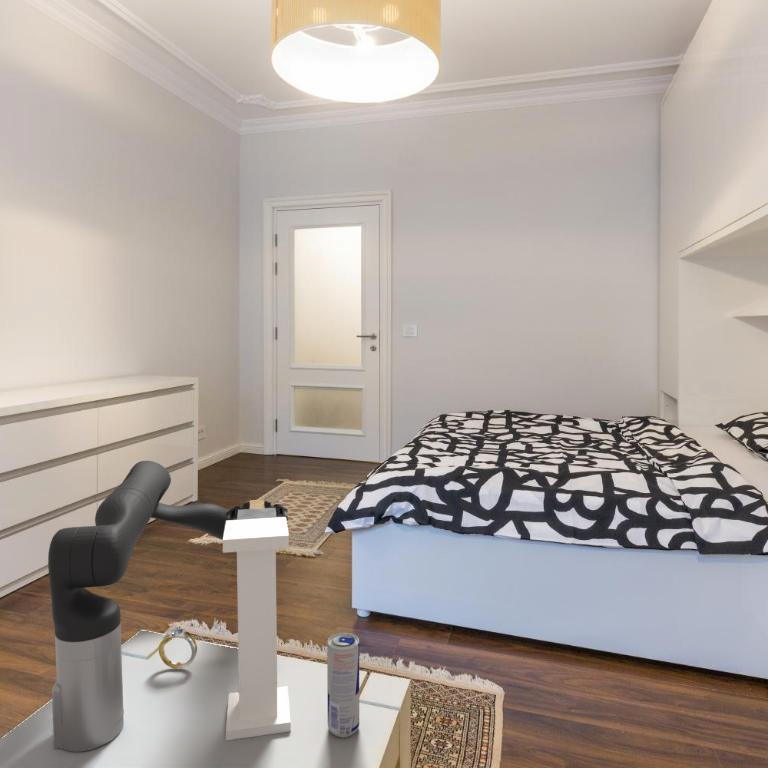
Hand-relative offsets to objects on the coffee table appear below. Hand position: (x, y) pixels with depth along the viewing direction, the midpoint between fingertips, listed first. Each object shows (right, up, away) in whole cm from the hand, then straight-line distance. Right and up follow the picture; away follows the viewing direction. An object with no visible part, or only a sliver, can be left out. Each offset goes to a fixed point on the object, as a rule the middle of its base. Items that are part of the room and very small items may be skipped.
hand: (256, 505), depth 116 cm
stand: (+5, -31, -20) cm, 37 cm away
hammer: (+1, -4, -4) cm, 6 cm away
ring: (-14, -30, -7) cm, 34 cm away
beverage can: (+19, -31, -24) cm, 44 cm away
